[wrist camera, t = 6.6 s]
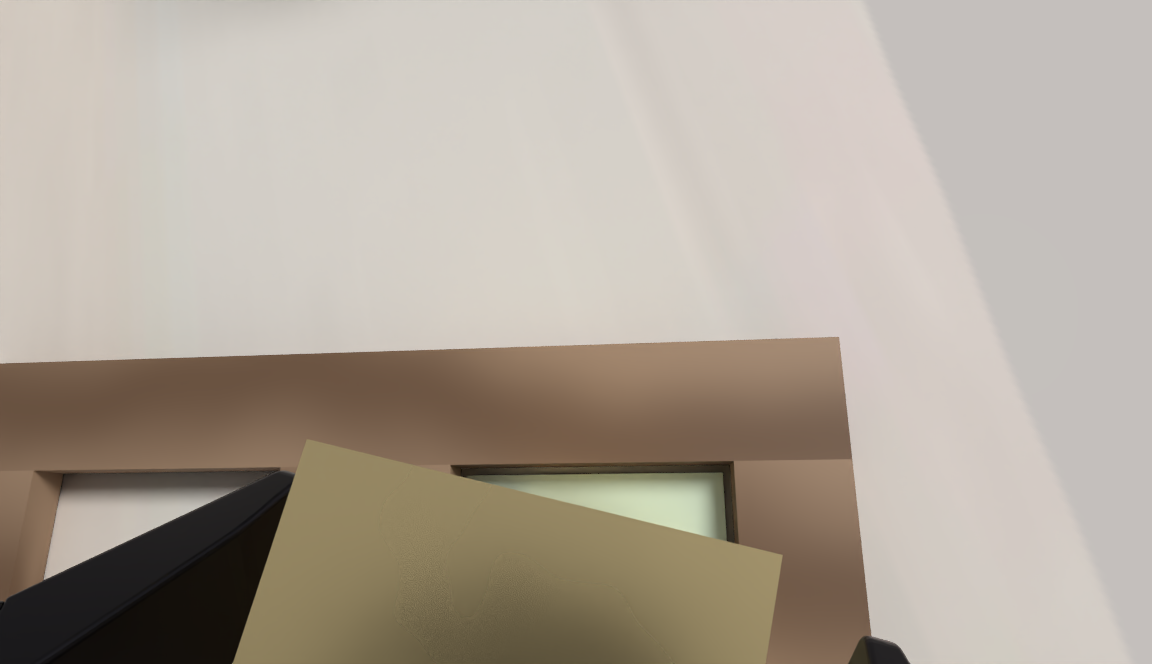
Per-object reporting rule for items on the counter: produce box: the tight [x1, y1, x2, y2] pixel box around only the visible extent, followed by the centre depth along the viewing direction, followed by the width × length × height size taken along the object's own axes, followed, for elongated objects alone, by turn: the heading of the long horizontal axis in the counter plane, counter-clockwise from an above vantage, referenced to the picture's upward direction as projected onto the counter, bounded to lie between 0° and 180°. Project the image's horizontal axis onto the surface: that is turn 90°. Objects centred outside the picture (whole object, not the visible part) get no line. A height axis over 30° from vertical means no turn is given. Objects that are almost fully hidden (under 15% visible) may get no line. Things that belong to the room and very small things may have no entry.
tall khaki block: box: [233, 439, 783, 664], centre depth 12 cm, size 4×4×12 cm
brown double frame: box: [0, 337, 871, 664], centre depth 18 cm, size 13×24×1 cm, turn 90°
